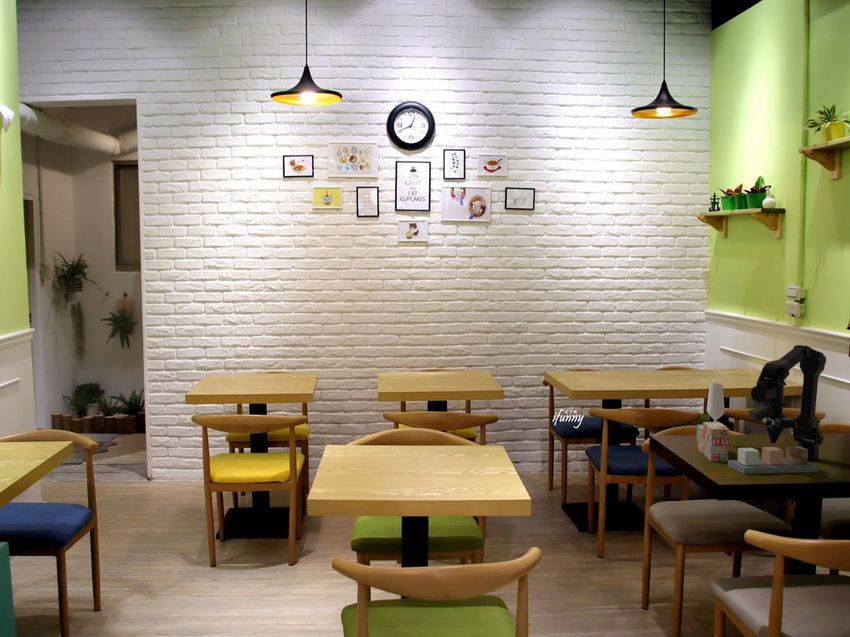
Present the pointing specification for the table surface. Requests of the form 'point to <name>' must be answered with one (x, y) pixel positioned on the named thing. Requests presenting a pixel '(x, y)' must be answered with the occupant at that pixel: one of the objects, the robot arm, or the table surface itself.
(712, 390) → the champagne flute
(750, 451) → the pale green cube
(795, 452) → the walnut key
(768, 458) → the salmon pink cube
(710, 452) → the stack of blocks
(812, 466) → the key board
